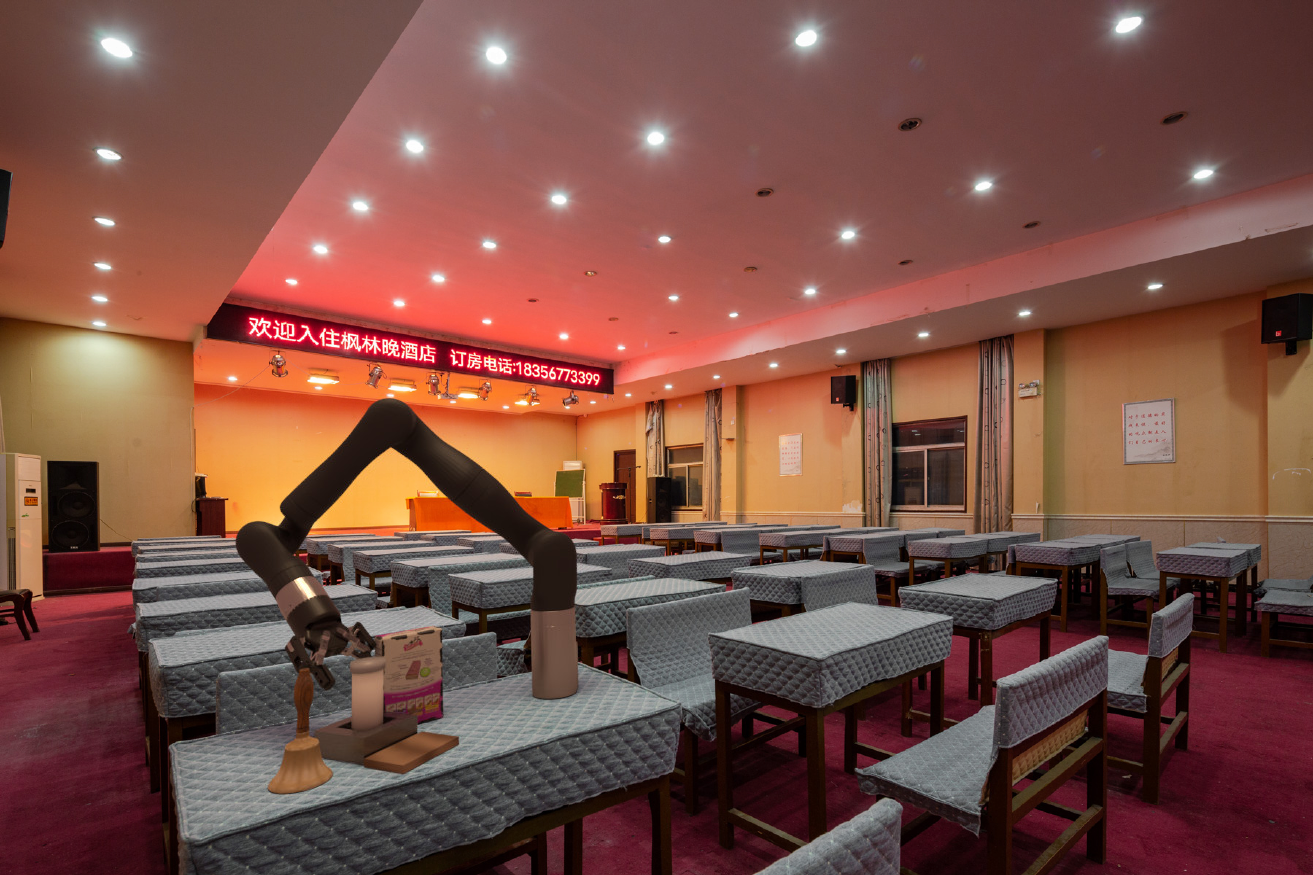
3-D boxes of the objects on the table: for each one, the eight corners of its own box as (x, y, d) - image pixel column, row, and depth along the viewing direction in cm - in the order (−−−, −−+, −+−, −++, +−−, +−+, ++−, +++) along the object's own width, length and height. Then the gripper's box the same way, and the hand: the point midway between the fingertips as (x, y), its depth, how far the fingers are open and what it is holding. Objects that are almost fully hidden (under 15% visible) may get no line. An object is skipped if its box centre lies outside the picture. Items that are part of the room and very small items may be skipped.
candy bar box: (433, 711, 121) (433, 624, 123) (443, 717, 117) (444, 628, 119) (372, 726, 114) (373, 634, 115) (381, 734, 110) (382, 638, 112)
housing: (369, 732, 111) (370, 708, 112) (417, 739, 107) (417, 714, 107) (314, 756, 101) (314, 730, 102) (364, 765, 97) (364, 738, 97)
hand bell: (341, 766, 97) (342, 660, 98) (319, 791, 88) (320, 674, 90) (284, 771, 96) (286, 663, 97) (256, 796, 87) (259, 678, 89)
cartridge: (368, 739, 108) (369, 655, 109) (392, 743, 105) (392, 657, 107) (341, 751, 103) (342, 663, 104) (365, 755, 100) (366, 665, 102)
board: (421, 738, 107) (421, 731, 107) (458, 743, 104) (458, 736, 104) (363, 766, 96) (363, 758, 96) (403, 773, 93) (403, 765, 93)
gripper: (280, 599, 105) (327, 675, 99) (352, 588, 118) (398, 654, 112) (258, 630, 106) (303, 707, 100) (332, 616, 119) (375, 683, 113)
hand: (353, 679), depth 106 cm, fingers open, 8 cm apart
